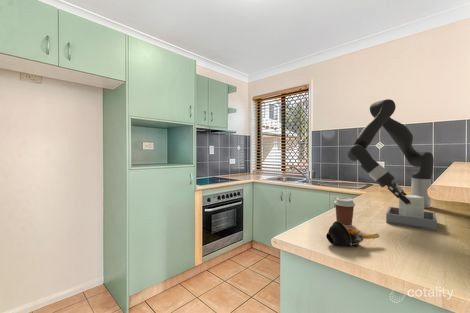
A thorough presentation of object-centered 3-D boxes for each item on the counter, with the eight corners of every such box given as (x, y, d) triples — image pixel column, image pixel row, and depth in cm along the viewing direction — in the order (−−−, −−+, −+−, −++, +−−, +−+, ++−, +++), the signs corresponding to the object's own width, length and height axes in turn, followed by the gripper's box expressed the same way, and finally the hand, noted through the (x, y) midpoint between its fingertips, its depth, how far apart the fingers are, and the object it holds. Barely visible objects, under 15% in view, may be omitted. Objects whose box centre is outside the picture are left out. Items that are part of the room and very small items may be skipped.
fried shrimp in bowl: (318, 227, 88) (355, 210, 91) (332, 256, 84) (370, 236, 88) (329, 226, 79) (370, 207, 83) (346, 258, 76) (387, 236, 80)
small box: (415, 216, 110) (415, 195, 110) (424, 219, 105) (424, 197, 105) (398, 216, 111) (398, 194, 111) (405, 219, 106) (406, 197, 105)
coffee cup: (358, 228, 100) (358, 201, 99) (336, 227, 101) (336, 200, 101) (351, 222, 109) (352, 197, 108) (331, 220, 110) (331, 196, 110)
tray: (389, 215, 120) (389, 206, 119) (434, 221, 108) (434, 212, 108) (386, 222, 107) (386, 213, 107) (436, 231, 96) (437, 220, 96)
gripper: (385, 172, 107) (416, 199, 101) (388, 169, 119) (416, 194, 112) (372, 182, 111) (401, 209, 104) (376, 179, 122) (402, 203, 115)
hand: (409, 201), depth 108 cm, fingers closed on small box, 8 cm apart
